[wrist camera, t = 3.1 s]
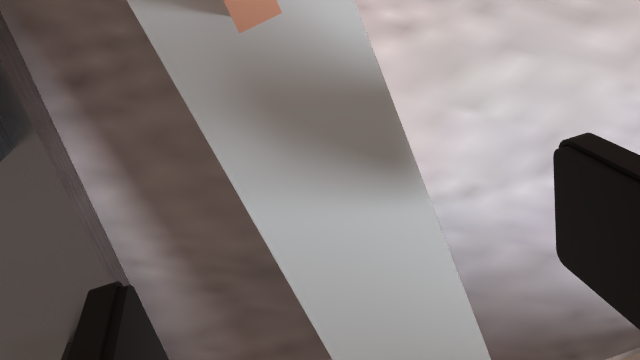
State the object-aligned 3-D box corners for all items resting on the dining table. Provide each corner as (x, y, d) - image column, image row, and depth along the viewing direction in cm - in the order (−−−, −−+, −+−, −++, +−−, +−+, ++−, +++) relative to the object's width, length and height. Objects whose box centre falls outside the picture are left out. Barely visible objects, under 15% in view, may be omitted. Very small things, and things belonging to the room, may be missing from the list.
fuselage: (259, -138, 15) (309, -241, 8) (445, 313, 23) (563, 488, 15) (120, -71, 15) (27, -106, 8) (354, 357, 23) (426, 556, 15)
